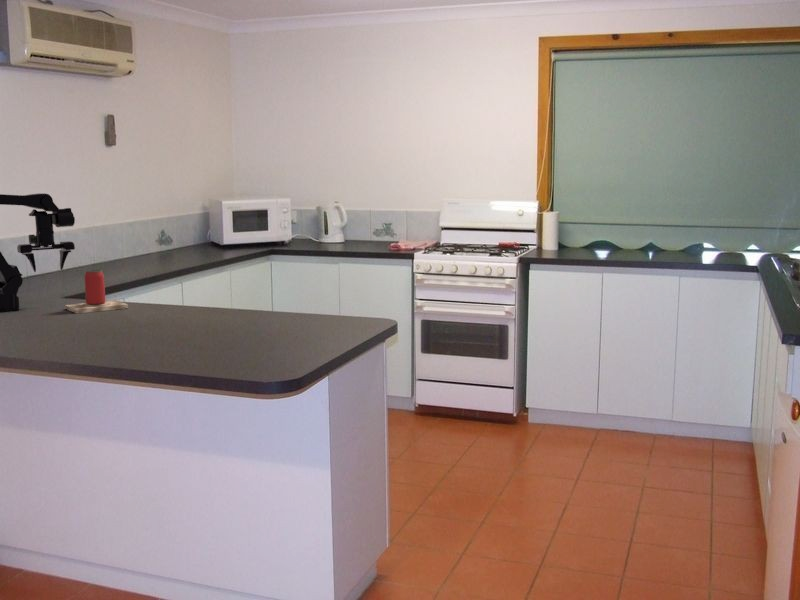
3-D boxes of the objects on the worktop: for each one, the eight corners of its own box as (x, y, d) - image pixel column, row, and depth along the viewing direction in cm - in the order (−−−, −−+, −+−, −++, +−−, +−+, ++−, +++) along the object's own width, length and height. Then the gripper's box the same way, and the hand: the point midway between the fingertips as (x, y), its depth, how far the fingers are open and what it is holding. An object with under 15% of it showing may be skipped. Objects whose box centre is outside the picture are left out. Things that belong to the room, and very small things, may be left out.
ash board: (76, 313, 293) (76, 308, 293) (65, 309, 303) (65, 304, 303) (127, 308, 304) (127, 303, 304) (115, 304, 314) (115, 299, 314)
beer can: (83, 303, 304) (81, 270, 302) (101, 302, 308) (99, 269, 306) (89, 305, 299) (87, 272, 297) (108, 303, 303) (106, 270, 301)
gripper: (65, 225, 319) (69, 266, 322) (12, 228, 309) (16, 271, 311) (73, 227, 310) (76, 269, 313) (18, 230, 300) (22, 273, 302)
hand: (48, 270), depth 310 cm, fingers open, 9 cm apart
